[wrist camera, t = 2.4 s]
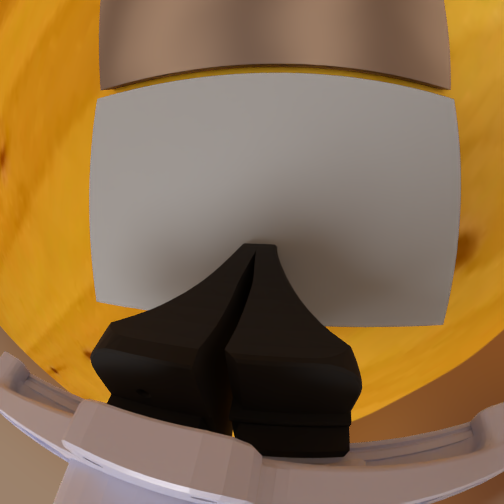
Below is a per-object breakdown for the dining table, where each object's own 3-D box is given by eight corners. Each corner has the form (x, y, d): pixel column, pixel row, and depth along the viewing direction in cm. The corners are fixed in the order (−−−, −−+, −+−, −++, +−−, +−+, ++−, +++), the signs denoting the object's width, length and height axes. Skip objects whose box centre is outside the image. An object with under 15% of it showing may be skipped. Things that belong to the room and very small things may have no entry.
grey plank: (443, 105, 10) (454, 99, 9) (433, 315, 12) (442, 324, 11) (109, 104, 13) (97, 99, 11) (108, 295, 15) (96, 301, 13)
